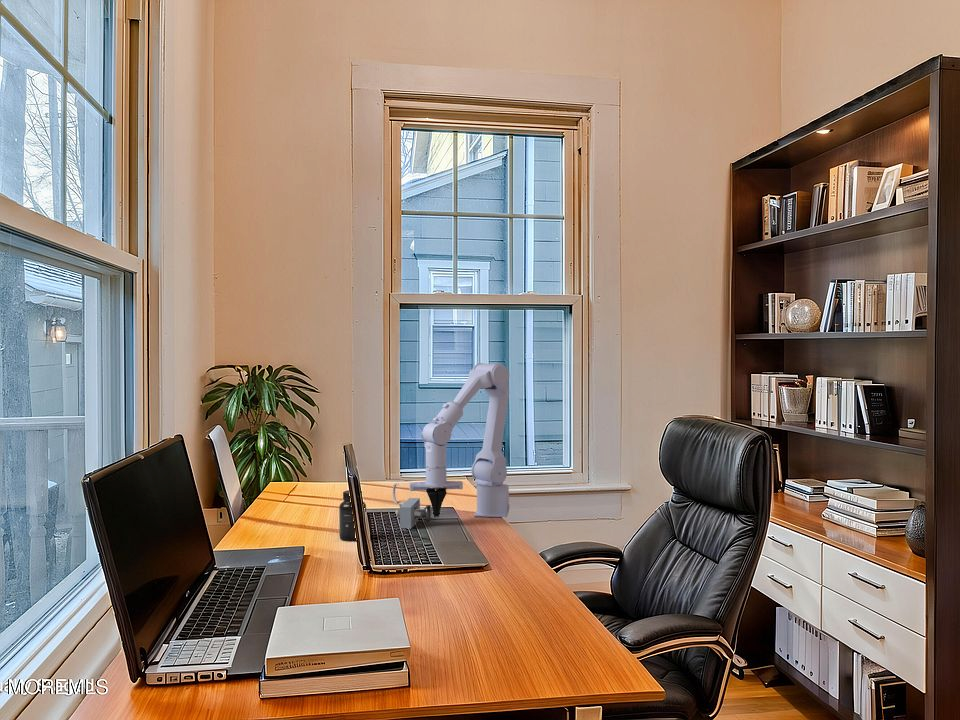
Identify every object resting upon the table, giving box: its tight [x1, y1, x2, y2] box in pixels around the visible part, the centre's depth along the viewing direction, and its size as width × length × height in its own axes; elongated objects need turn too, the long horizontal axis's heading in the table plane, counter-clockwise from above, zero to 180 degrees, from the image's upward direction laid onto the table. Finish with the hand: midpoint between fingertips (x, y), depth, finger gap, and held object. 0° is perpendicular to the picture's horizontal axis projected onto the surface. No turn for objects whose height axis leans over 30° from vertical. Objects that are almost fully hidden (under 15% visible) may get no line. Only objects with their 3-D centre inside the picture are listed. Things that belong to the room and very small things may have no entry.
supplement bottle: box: [338, 489, 367, 542], centre depth 188 cm, size 7×7×12 cm
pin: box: [396, 504, 433, 523], centre depth 202 cm, size 9×5×5 cm, turn 83°
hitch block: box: [399, 497, 421, 530], centre depth 203 cm, size 3×12×6 cm, turn 173°
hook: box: [392, 482, 425, 513], centre depth 223 cm, size 7×9×20 cm
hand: (436, 516), depth 202 cm, fingers closed
